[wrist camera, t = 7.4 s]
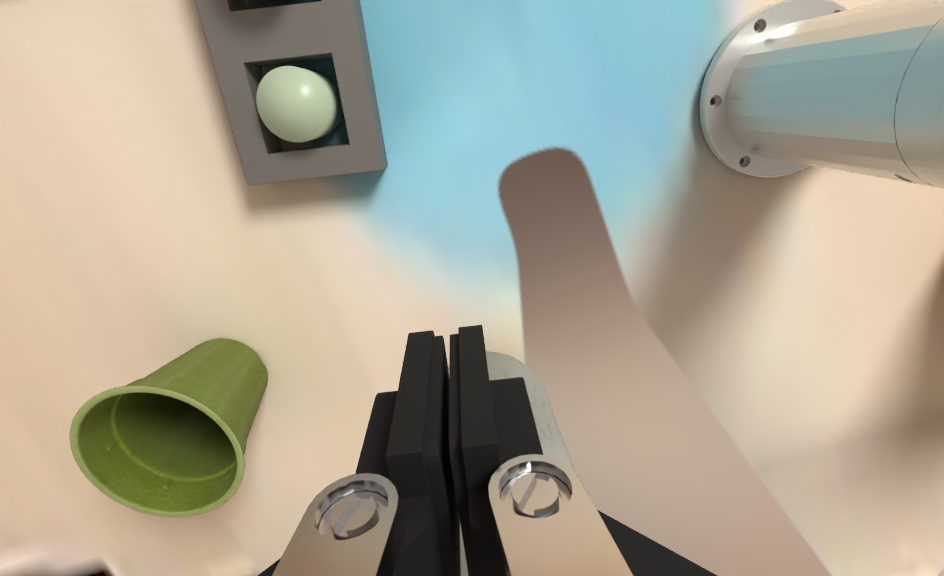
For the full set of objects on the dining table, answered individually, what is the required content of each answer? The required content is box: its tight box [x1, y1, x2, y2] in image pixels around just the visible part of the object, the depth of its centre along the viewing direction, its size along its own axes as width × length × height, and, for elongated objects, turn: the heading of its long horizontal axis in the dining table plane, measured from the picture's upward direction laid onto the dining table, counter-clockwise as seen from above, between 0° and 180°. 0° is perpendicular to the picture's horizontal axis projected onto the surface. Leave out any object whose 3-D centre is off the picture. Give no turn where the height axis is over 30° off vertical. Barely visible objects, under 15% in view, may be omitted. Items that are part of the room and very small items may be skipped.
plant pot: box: [69, 339, 268, 517], centre depth 38 cm, size 12×12×11 cm
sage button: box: [256, 66, 342, 142], centre depth 33 cm, size 5×5×4 cm
